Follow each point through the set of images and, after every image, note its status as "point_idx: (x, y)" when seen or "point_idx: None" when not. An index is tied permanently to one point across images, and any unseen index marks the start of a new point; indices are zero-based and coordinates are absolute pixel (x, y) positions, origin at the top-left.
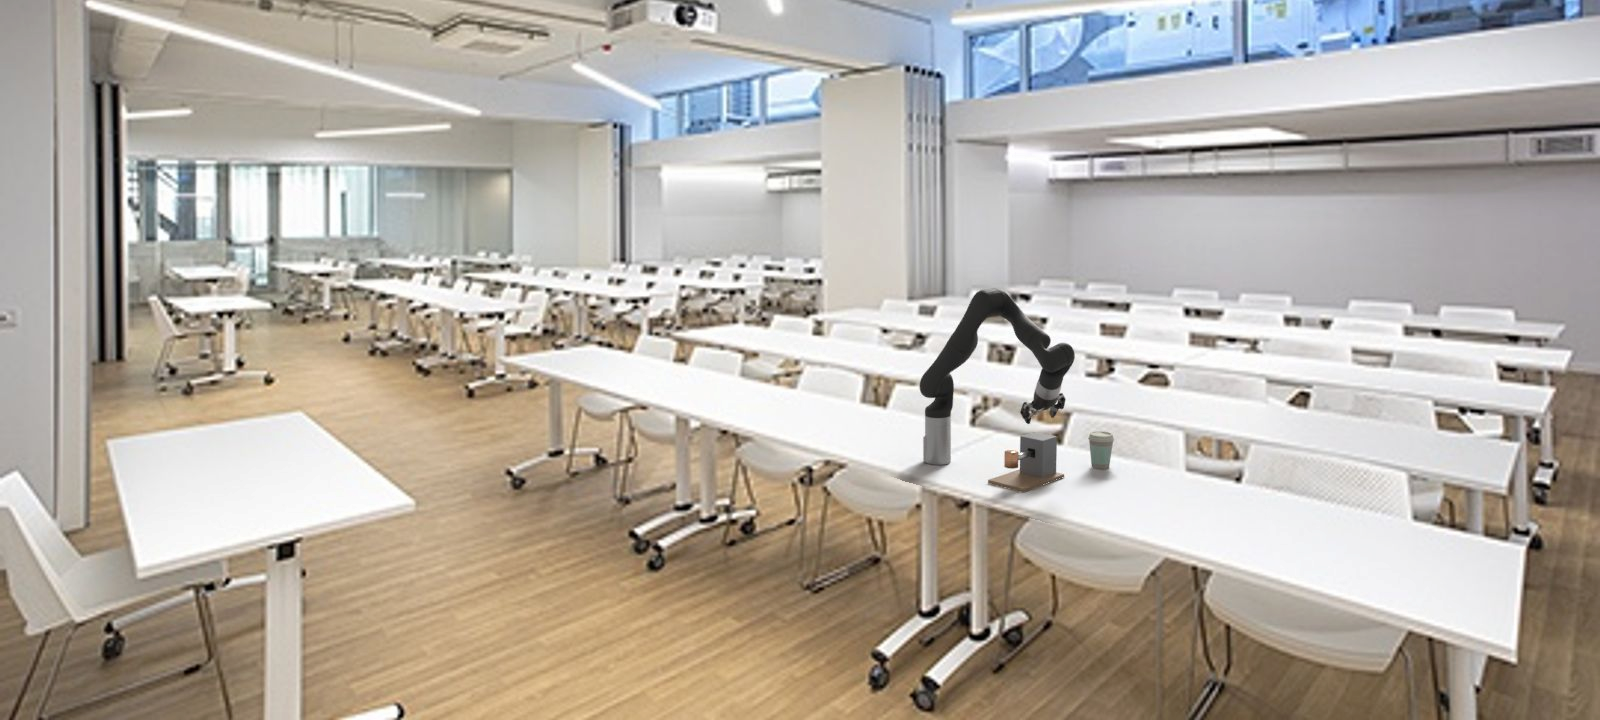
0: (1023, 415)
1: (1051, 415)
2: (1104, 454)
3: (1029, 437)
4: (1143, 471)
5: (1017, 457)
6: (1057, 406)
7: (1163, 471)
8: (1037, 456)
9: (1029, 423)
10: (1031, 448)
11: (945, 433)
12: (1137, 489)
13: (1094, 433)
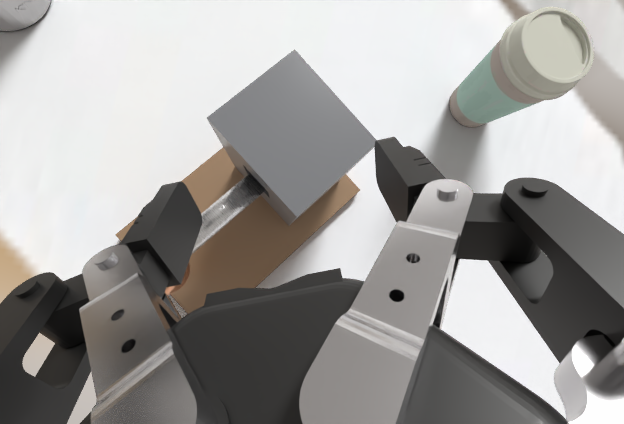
0: (45, 374)
1: (381, 179)
2: (506, 113)
3: (246, 148)
4: (559, 153)
5: (168, 291)
6: (476, 248)
7: (602, 157)
8: (276, 204)
9: (197, 227)
10: (256, 178)
11: None
12: (512, 305)
13: (536, 29)
